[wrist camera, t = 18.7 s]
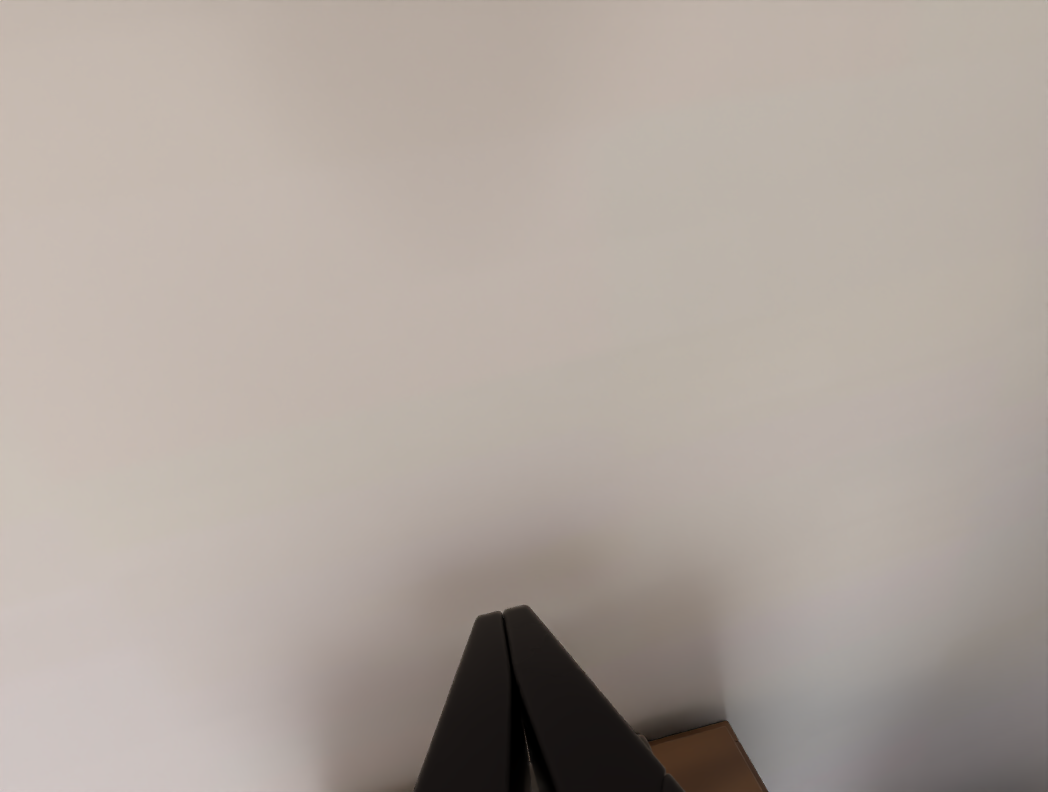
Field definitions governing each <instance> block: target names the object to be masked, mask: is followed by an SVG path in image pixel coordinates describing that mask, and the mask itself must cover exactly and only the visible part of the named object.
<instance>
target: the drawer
mask: <svg viewBox="0 0 1048 792" xmlns="http://www.w3.org/2000/svg"><path fill="white" fill-rule="evenodd" d="M638 736H639V738H640V739H641V740H642V741H643V742H644V744H645V745H646V746H647V747H648V748H649V749H650V751H651V752H652V753H653V754H654V755H655V757H656V758H657V759H658V760H659V761H660V763H661V764H662V765H663V766H664V767H665V769H666V774H667V773H669V774H671V775H672V776H673V778H674V779H675V780H676V781H677V782H678V783H679V785H680V786H681V787H682V788H683V789H684V791H685V792H763V791H762V789H761V787H760V785H759V784H758V782H757V780H756V778H755V776H754V775H753V773H752V771H751V769H750V768H749V766H748V764H747V762H746V761H745V759H744V757H743V755H742V753H741V752H740V750H739V748H738V746H737V745H736V743H735V741H734V739H733V738H732V736H731V734H730V732H729V730H728V729H727V727H726V726H722V727H719V728H715V729H711V730H708V731H704V732H700V733H697V734H693V735H689V736H686V737H682V738H678V739H674V740H671V741H667V742H663V743H660V744H656V745H652V746H650V745H649V743H648V741H647V739H646V738H645V736H644V735H641V734H640V735H638ZM530 774H531V785H532V792H539V790H538V787H537V783H536V780H535V776H534V772H533V769H532V765H531V764H530Z"/></svg>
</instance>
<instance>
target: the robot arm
mask: <svg viewBox="0 0 1048 792" xmlns="http://www.w3.org/2000/svg"><path fill="white" fill-rule="evenodd" d="M503 617H504V618H503ZM524 731H525V732H524ZM525 736H526V737H525ZM526 741H527V743H526ZM527 746H528V749H527ZM528 751H529V756H530V761H531V765H532V769H533V772H534V776H535V780H536V783H537V787H538V790H539V792H685V791H684V789H683V788H682V787H681V786H680V785H679V783H678V782H677V781H676V780H675V779H674V778H673V776H672V775H671V774H669V773H667V774H666V769H665V767H664V766H663V765H662V764H661V763H660V761H659V760H658V759H657V758H656V757H655V755H654V754H653V753H652V752H651V751H650V749H649V748H648V747H647V746H646V745H645V744H644V742H643V741H642V740H641V739H640V738H639V736H638V735H637V734H636V733H635V732H634V730H633V729H632V728H631V727H630V726H629V725H628V723H627V722H626V721H625V720H624V719H623V717H622V716H621V715H620V714H619V713H618V712H617V710H616V709H615V708H614V707H613V706H612V704H611V703H610V702H609V701H608V700H607V698H606V697H605V696H604V695H603V694H602V693H601V691H600V690H599V689H598V688H597V687H596V685H595V684H594V683H593V682H592V681H591V679H590V678H589V677H588V676H587V675H586V674H585V672H584V671H583V670H582V669H581V668H580V666H579V665H578V664H577V663H576V662H575V660H574V659H573V658H572V657H571V656H570V655H569V653H568V652H567V651H566V650H565V649H564V647H563V646H562V645H561V644H560V643H559V641H558V640H557V639H556V638H555V637H554V636H553V634H552V633H551V632H550V631H549V630H548V628H547V627H546V626H545V625H544V624H543V622H542V621H541V620H540V619H539V618H538V617H537V615H536V614H535V613H534V612H533V611H532V609H531V608H530V607H529V606H527V605H521V606H517V607H513V608H508V609H506V610H505V611H504V612H503V614H502V612H500V611H496V612H491V613H487V614H483V615H479V616H478V617H477V618H476V620H475V623H474V626H473V628H472V631H471V634H470V637H469V639H468V642H467V645H466V648H465V650H464V653H463V656H462V659H461V661H460V664H459V667H458V670H457V672H456V675H455V678H454V681H453V684H452V686H451V689H450V692H449V695H448V697H447V700H446V703H445V706H444V708H443V711H442V714H441V717H440V719H439V722H438V725H437V728H436V730H435V733H434V736H433V739H432V742H431V744H430V747H429V750H428V753H427V755H426V758H425V761H424V764H423V766H422V769H421V772H420V775H419V777H418V780H417V783H416V786H415V788H414V791H413V792H532V785H531V774H530V763H529V756H528Z"/></svg>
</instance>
